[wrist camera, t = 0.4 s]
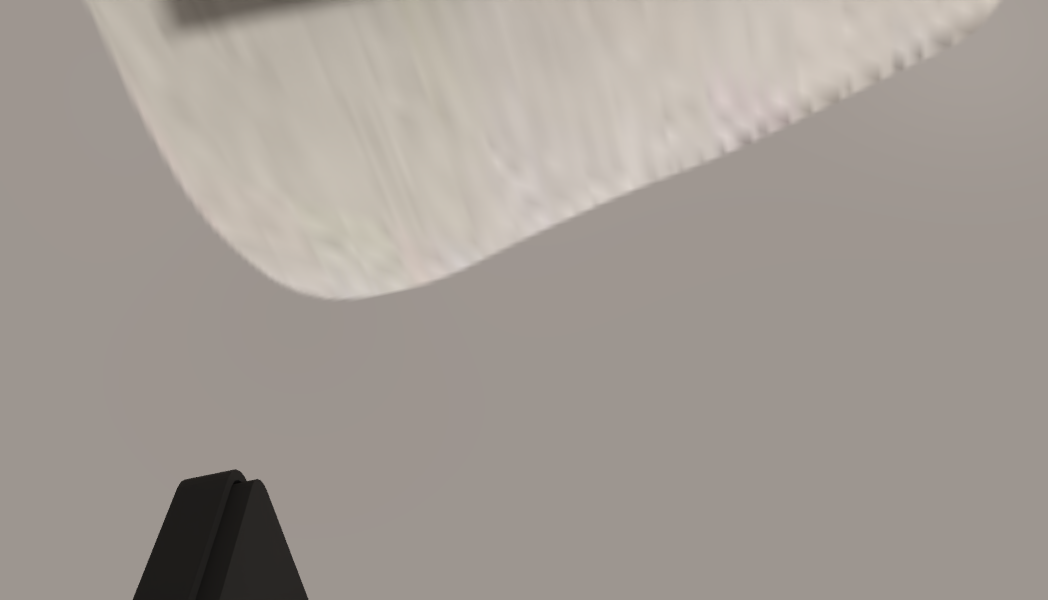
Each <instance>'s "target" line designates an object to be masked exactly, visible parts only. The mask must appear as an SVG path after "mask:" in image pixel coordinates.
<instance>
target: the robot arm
mask: <svg viewBox="0 0 1048 600" xmlns="http://www.w3.org/2000/svg"><path fill="white" fill-rule="evenodd" d="M133 600H308V598H307V595H306V592H305V589H304V587H303V584H302V582H301V579H300V576H299V574H298V571H297V568H296V566H295V563H294V561H293V558H292V556H291V553H290V550H289V547H288V545H287V543H286V540H285V537H284V534H283V532H282V529H281V526H280V524H279V521H278V519H277V516H276V513H275V511H274V508H273V506H272V503H271V501H270V498H269V495H268V493H267V490H266V488H265V486H264V484H263V483H262V482H261V481H260V480H258V479H256V480H251V481H246V479H245V477H244V475H243V474H242V473H241V472H240V471H238V470H230V471H226V472H220V473H215V474H211V475H206V476H201V477H196V478H191V479H186V480H184V481H182V482H181V483H180V484H179V486H178V488H177V490H176V493H175V495H174V498H173V500H172V503H171V505H170V508H169V510H168V513H167V515H166V518H165V520H164V523H163V525H162V528H161V530H160V533H159V535H158V538H157V540H156V543H155V545H154V548H153V550H152V553H151V555H150V558H149V560H148V563H147V565H146V568H145V571H144V573H143V576H142V578H141V580H140V583H139V585H138V588H137V590H136V593H135V595H134V598H133Z"/></svg>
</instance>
